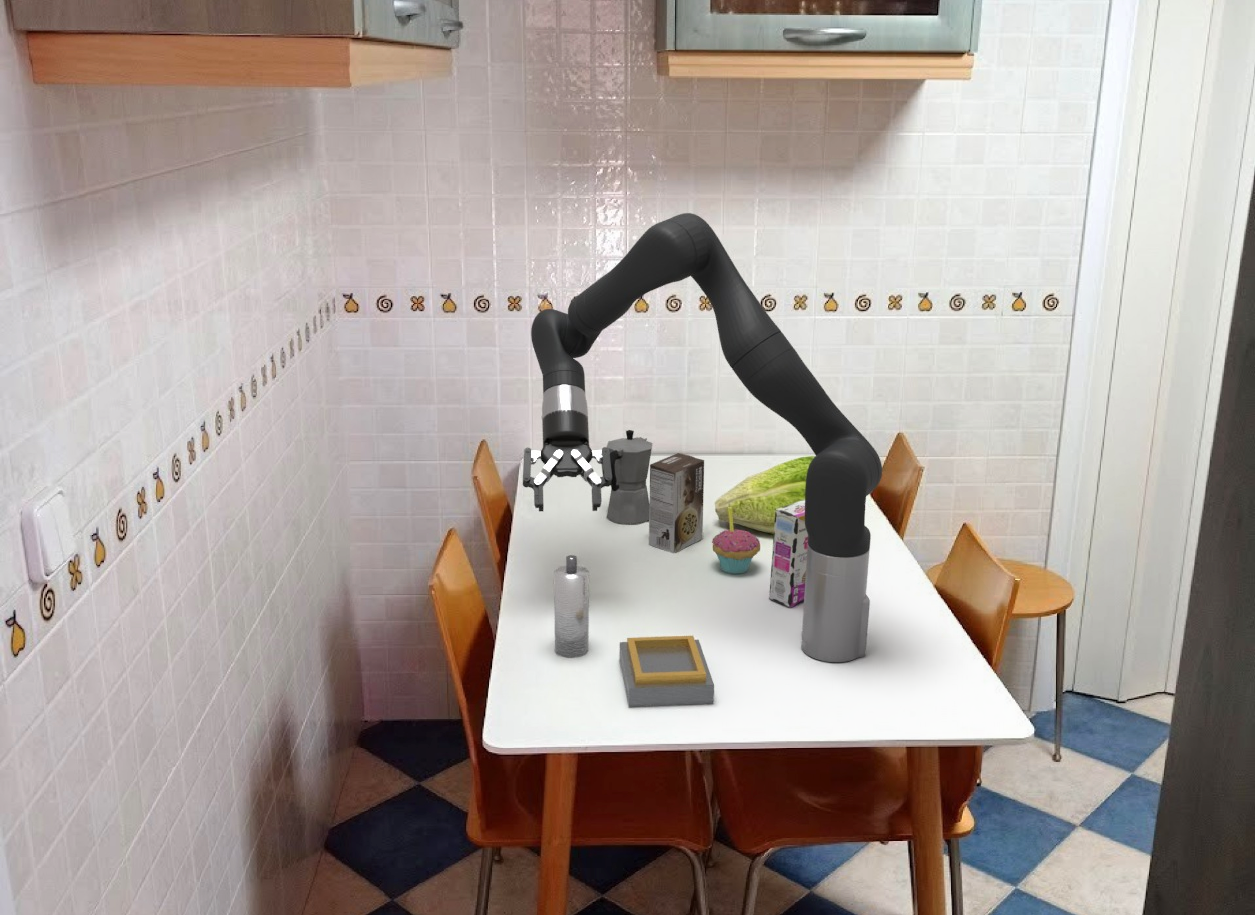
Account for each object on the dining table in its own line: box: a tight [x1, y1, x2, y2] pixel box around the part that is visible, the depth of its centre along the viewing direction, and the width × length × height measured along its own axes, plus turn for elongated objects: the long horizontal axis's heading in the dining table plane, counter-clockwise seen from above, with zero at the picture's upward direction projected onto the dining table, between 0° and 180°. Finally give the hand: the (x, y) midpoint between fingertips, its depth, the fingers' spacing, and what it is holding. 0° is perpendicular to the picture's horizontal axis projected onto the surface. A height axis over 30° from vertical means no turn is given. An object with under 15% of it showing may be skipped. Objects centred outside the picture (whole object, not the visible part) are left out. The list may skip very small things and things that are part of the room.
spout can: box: [553, 554, 590, 659], centre depth 183 cm, size 5×5×15 cm
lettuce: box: [714, 455, 816, 535], centre depth 233 cm, size 15×24×16 cm
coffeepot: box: [606, 429, 653, 526], centre depth 236 cm, size 15×9×18 cm, turn 153°
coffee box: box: [648, 452, 705, 554], centre depth 224 cm, size 9×6×16 cm
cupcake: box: [711, 503, 761, 575], centre depth 214 cm, size 9×8×12 cm
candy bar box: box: [768, 499, 808, 608], centre depth 203 cm, size 11×5×16 cm, turn 135°
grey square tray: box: [618, 635, 715, 708], centre depth 175 cm, size 12×14×4 cm
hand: (568, 509), depth 190 cm, fingers open, 8 cm apart
